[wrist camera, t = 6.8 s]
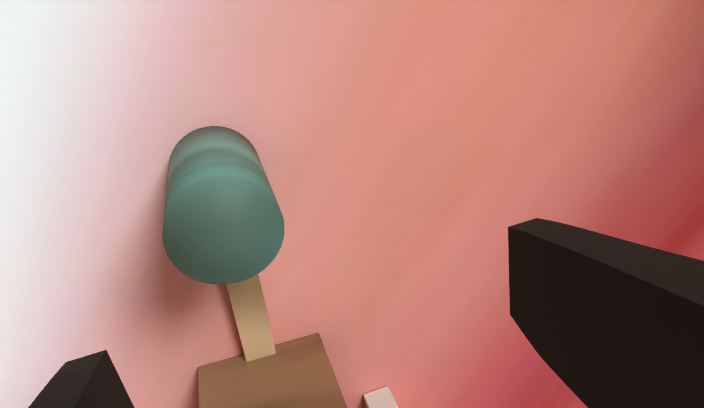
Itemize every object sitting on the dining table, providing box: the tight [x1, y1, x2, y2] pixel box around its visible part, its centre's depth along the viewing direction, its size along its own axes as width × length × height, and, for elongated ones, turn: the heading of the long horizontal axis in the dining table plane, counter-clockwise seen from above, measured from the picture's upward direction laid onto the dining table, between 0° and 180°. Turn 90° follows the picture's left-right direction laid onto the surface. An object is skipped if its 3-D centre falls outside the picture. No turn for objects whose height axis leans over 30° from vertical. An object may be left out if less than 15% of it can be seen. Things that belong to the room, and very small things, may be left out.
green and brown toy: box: [163, 126, 347, 408], centre depth 17 cm, size 14×5×6 cm, turn 7°
